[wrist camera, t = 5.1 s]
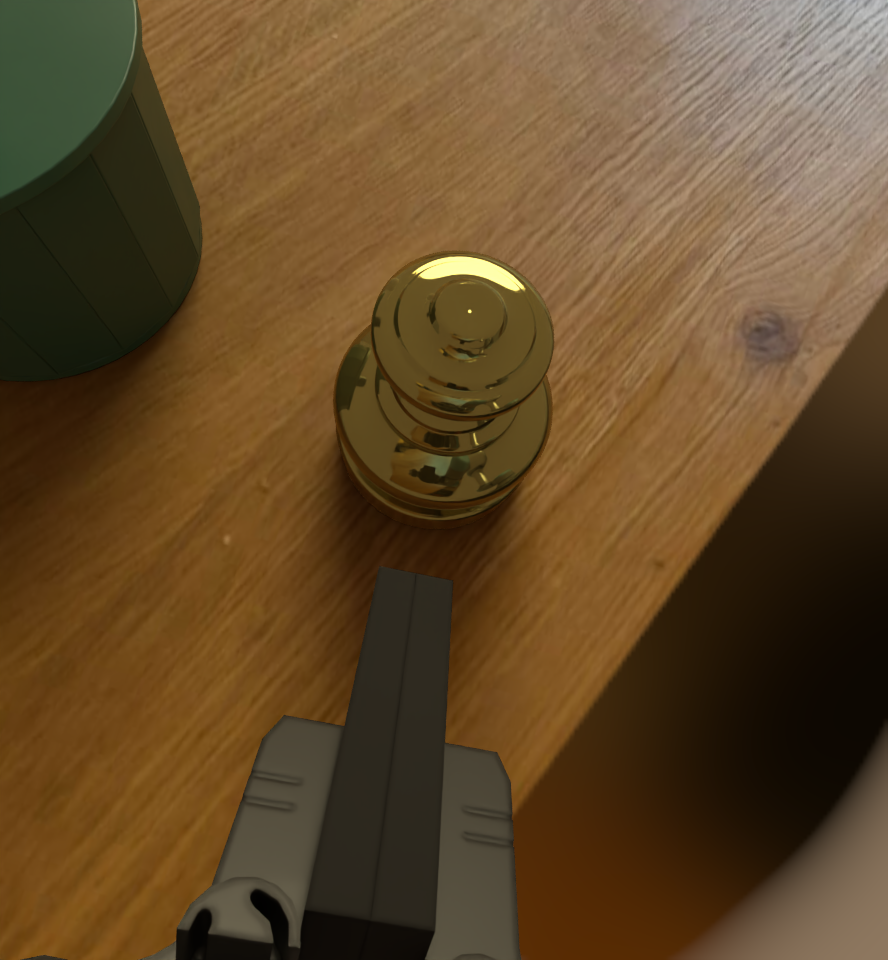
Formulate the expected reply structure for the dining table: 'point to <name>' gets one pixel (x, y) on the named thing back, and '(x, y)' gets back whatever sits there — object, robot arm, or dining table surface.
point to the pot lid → (60, 86)
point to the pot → (100, 250)
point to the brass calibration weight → (446, 390)
